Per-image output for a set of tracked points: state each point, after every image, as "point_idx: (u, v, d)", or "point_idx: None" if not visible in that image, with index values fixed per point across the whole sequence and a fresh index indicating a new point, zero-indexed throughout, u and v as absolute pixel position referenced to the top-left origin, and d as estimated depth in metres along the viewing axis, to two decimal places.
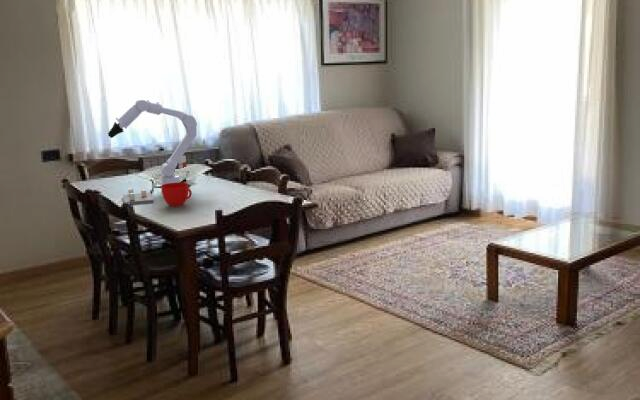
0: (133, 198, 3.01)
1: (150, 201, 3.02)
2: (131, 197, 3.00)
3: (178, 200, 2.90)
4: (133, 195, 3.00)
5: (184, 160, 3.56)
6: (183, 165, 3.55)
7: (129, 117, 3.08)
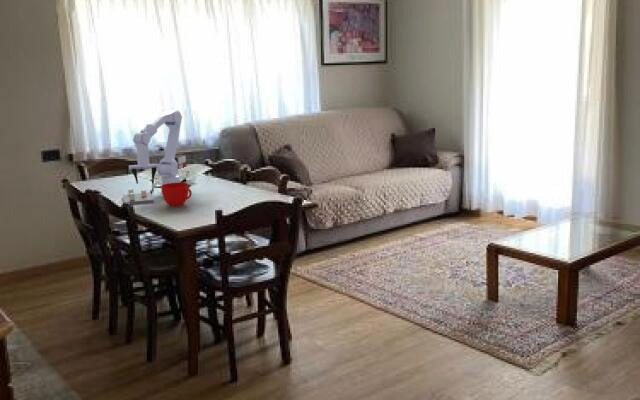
0: (133, 198, 3.01)
1: (150, 201, 3.02)
2: (131, 197, 3.00)
3: (178, 200, 2.90)
4: (133, 195, 3.00)
5: (184, 160, 3.56)
6: (183, 165, 3.55)
7: (147, 156, 3.04)
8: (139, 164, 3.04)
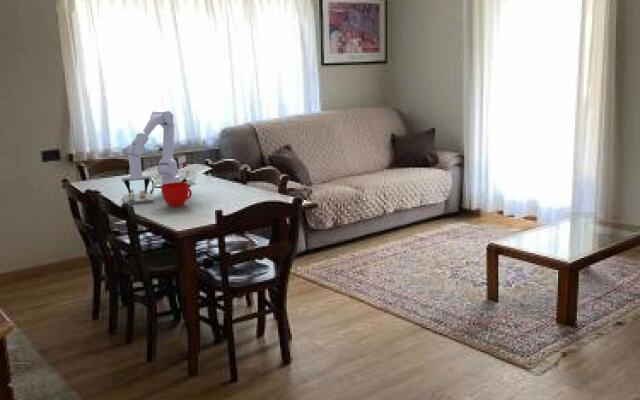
0: (133, 198, 3.01)
1: (150, 201, 3.02)
2: (131, 197, 3.00)
3: (178, 200, 2.90)
4: (133, 195, 3.00)
5: (184, 160, 3.56)
6: (183, 165, 3.55)
7: (139, 167, 3.03)
8: (132, 176, 3.03)
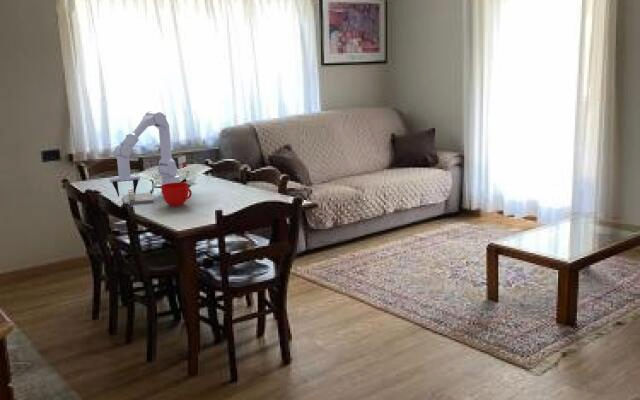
0: (133, 198, 3.01)
1: (150, 201, 3.02)
2: (131, 197, 3.00)
3: (178, 200, 2.90)
4: (133, 195, 3.00)
5: (184, 160, 3.56)
6: (183, 165, 3.55)
7: (127, 168, 3.01)
8: (120, 177, 3.02)
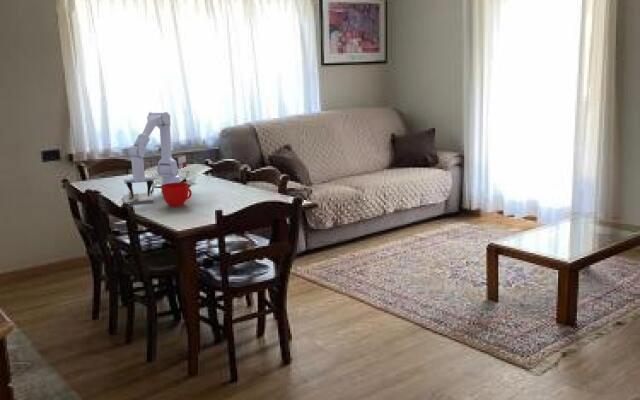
0: (137, 198, 3.01)
1: (150, 201, 3.02)
2: (135, 197, 3.01)
3: (178, 200, 2.90)
4: (137, 195, 3.01)
5: (184, 160, 3.56)
6: (183, 165, 3.55)
7: (142, 169, 2.99)
8: (134, 178, 2.98)
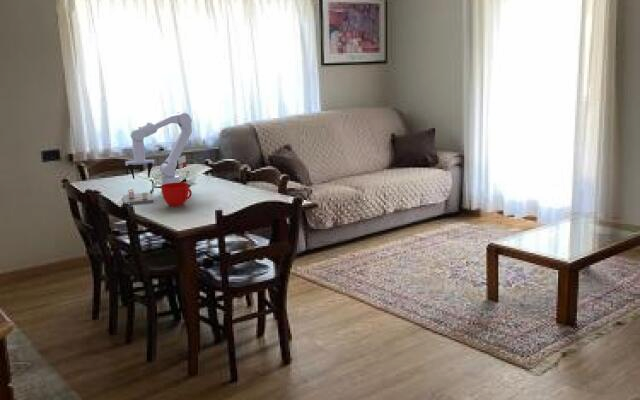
0: (146, 197, 3.03)
1: (150, 201, 3.02)
2: (144, 196, 3.02)
3: (178, 200, 2.90)
4: (146, 194, 3.02)
5: (184, 160, 3.56)
6: (183, 165, 3.55)
7: (140, 152, 3.12)
8: (135, 160, 3.13)
